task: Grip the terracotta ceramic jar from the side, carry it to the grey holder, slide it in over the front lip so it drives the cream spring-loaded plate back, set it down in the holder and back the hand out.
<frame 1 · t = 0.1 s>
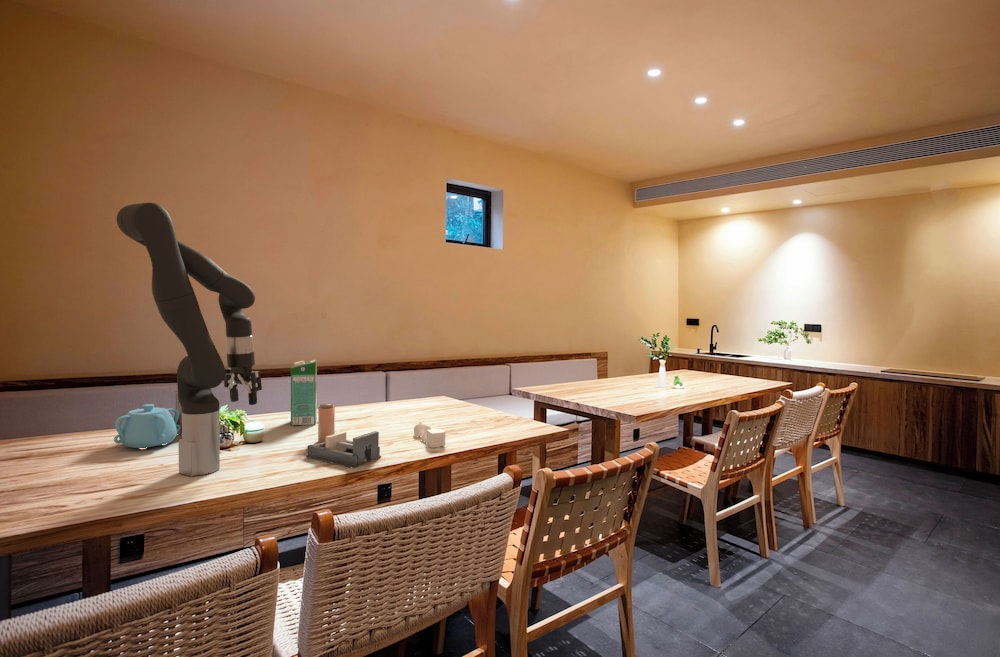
hand: (243, 402, 154), 17 cm above the table, tool pointing down, fingers open, 8 cm apart
coffee box: (193, 434, 181), on the table
milk carton: (303, 423, 200), on the table
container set: (427, 441, 180), on the table
decorative pot: (148, 445, 166), on the table
grey holder: (343, 457, 158), on the table
pusher: (349, 446, 157), point 4 cm above the table, slide at 0.0 cm
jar: (326, 441, 175), on the table
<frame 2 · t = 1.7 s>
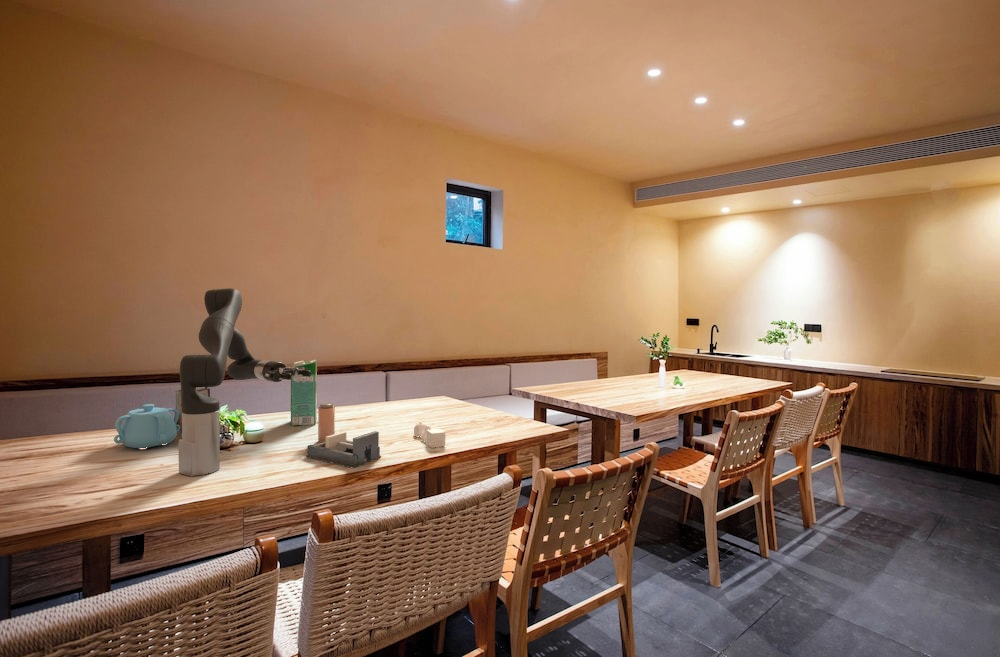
hand: (300, 375, 180), 22 cm above the table, tool horizontal, fingers open, 8 cm apart
nothing on the table moved.
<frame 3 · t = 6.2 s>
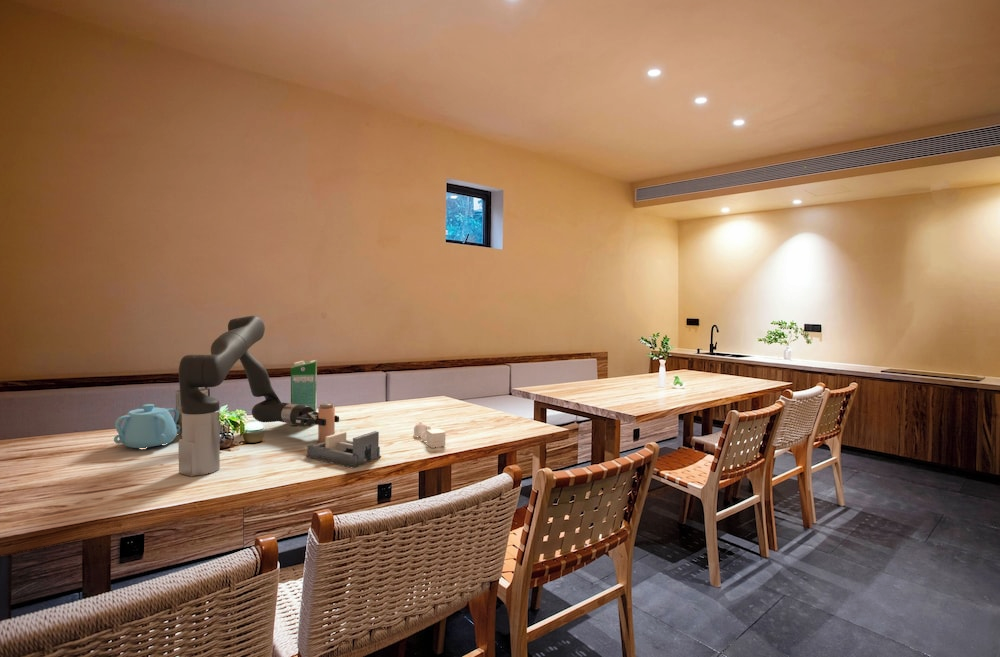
hand: (331, 420, 174), 8 cm above the table, tool horizontal, fingers closed on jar, 5 cm apart
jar: (326, 441, 175), on the table, touching gripper
everything else where it was.
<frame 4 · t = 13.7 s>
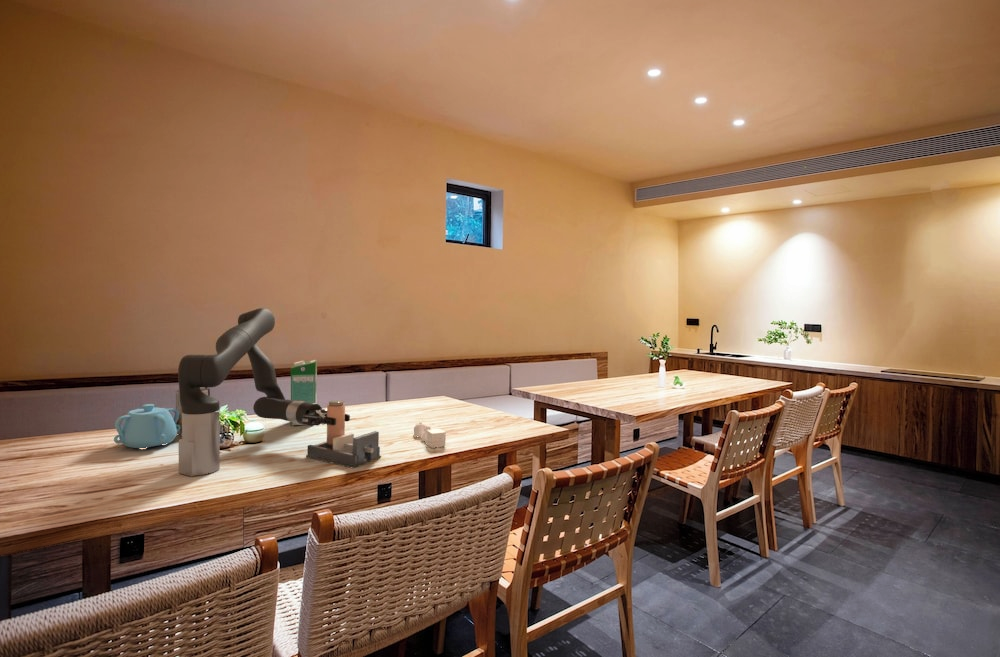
hand: (341, 419, 158), 12 cm above the table, tool horizontal, fingers closed on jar, 5 cm apart
pusher: (356, 448, 156), point 4 cm above the table, slide at 3.2 cm, touching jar
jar: (335, 442, 160), point 4 cm above the table, touching gripper, pusher
everything else where it was.
when the fingers open (8 cm above the table, at t = 15.3 s): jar stays where it is, resting on grey holder.
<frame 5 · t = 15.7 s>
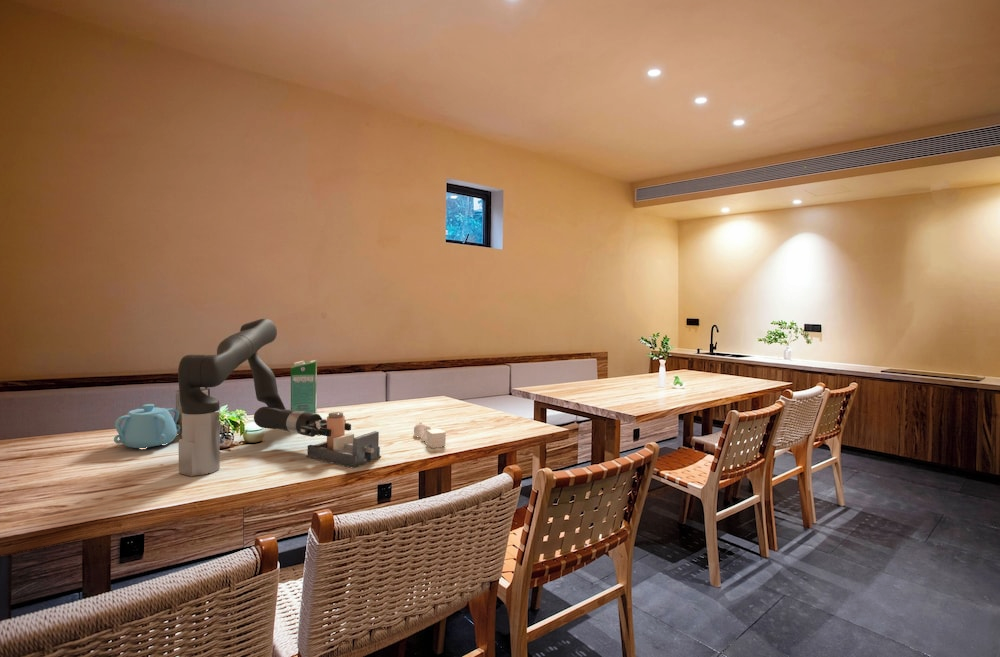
hand: (340, 430, 159), 9 cm above the table, tool horizontal, fingers open, 8 cm apart
pusher: (357, 448, 156), point 4 cm above the table, slide at 3.3 cm
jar: (335, 453, 160), point 1 cm above the table, touching grey holder
everything else where it was.
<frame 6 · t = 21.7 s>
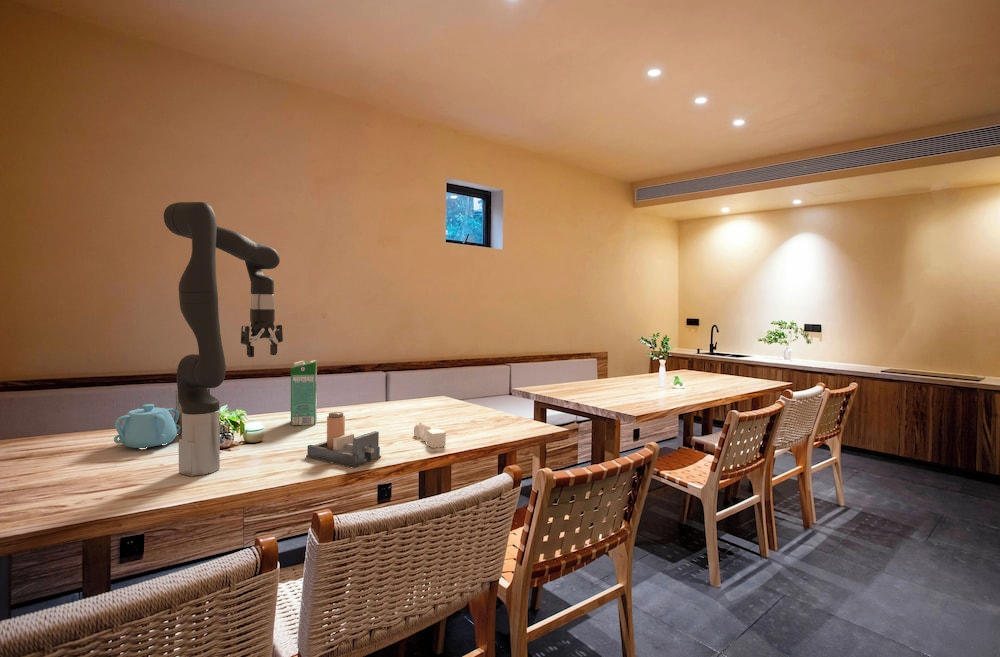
hand: (262, 356, 168), 30 cm above the table, tool pointing down, fingers open, 8 cm apart
nothing on the table moved.
at the end: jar inside the target area on the grey holder (0.9 cm from its centre), point 0.5 cm above the grey holder's base; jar tilted 1°; pusher slide at 3.3 cm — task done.
